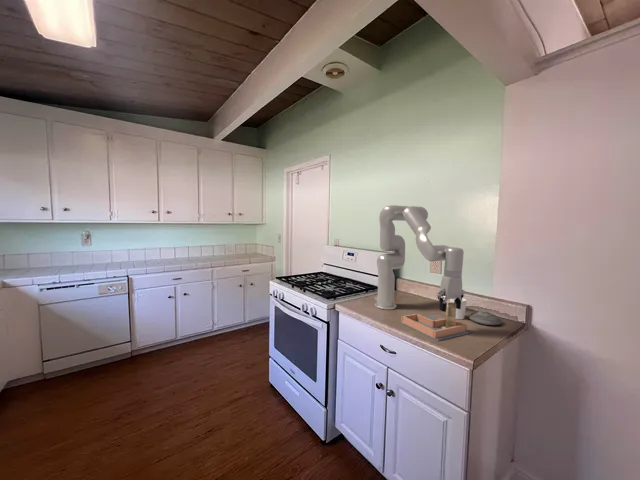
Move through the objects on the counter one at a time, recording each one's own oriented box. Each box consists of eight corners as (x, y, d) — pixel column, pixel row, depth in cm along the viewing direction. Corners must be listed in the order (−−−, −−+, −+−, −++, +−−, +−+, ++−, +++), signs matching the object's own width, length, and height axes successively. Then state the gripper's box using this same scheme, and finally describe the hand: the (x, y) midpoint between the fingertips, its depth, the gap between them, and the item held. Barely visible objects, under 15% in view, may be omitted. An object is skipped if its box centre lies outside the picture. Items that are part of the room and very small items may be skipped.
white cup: (463, 315, 153) (464, 297, 152) (467, 320, 145) (468, 301, 144) (447, 314, 155) (448, 296, 154) (450, 318, 147) (451, 300, 146)
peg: (443, 327, 133) (445, 302, 132) (449, 326, 135) (451, 301, 134) (450, 330, 129) (452, 305, 128) (456, 329, 131) (458, 304, 130)
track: (400, 322, 140) (400, 315, 140) (429, 317, 149) (430, 310, 148) (437, 341, 119) (438, 332, 119) (469, 333, 128) (469, 325, 128)
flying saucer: (471, 315, 155) (472, 305, 154) (503, 321, 145) (504, 311, 145) (465, 322, 143) (465, 311, 143) (499, 330, 134) (500, 318, 133)
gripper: (458, 271, 137) (455, 305, 139) (432, 273, 130) (430, 309, 132) (472, 274, 131) (469, 310, 132) (446, 277, 123) (443, 314, 125)
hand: (449, 309), depth 132 cm, fingers open, 9 cm apart
